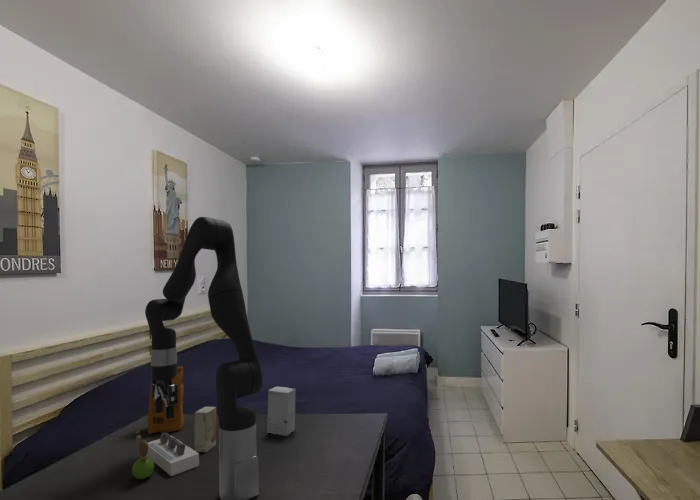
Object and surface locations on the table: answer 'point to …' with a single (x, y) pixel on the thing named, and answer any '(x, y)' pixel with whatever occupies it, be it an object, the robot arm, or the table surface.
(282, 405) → the skincare box
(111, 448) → the table surface
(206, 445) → the skincare box
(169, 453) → the strip
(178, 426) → the coffee package
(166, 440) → the breaker paddles
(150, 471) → the snail figurine
